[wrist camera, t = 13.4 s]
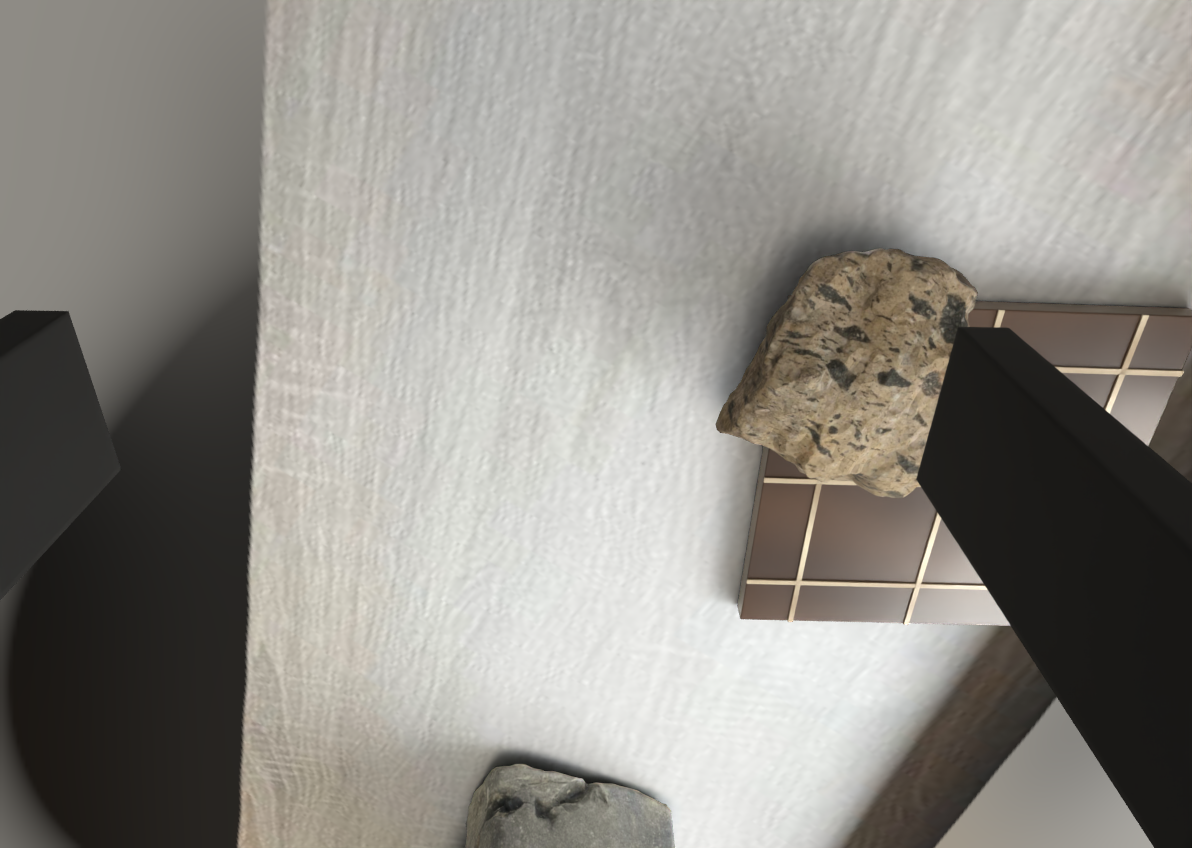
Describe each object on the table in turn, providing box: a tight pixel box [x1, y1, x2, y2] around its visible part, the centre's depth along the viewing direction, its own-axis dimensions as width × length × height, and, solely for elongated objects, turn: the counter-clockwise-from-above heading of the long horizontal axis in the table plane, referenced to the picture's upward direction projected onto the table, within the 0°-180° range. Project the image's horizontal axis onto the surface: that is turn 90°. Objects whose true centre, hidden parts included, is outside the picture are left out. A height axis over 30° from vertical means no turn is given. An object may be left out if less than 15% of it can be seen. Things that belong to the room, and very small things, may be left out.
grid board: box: [737, 295, 1192, 626], centre depth 43 cm, size 20×20×1 cm
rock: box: [716, 248, 978, 498], centre depth 37 cm, size 11×12×4 cm
